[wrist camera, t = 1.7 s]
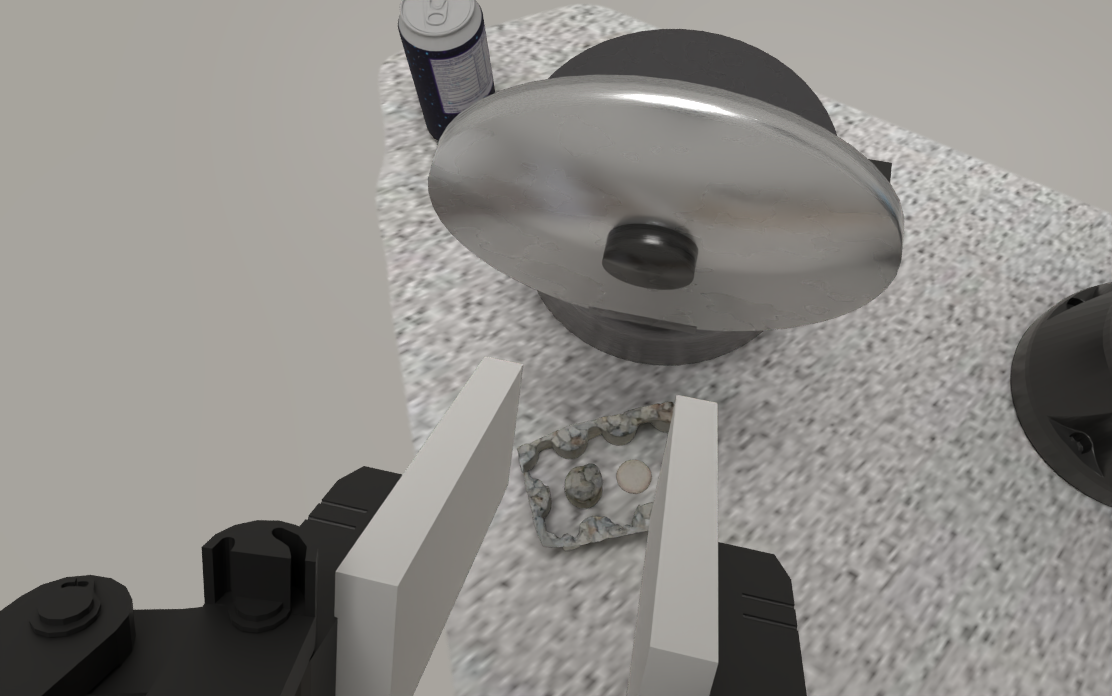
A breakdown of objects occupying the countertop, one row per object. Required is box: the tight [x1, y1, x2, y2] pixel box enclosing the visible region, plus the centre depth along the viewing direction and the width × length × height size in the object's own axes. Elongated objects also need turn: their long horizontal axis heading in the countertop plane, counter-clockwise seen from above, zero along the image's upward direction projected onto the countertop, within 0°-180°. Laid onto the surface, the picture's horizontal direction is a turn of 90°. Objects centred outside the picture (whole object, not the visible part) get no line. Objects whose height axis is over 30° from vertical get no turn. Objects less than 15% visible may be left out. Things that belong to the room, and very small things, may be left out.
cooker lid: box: [428, 75, 904, 334], centre depth 35 cm, size 20×20×2 cm
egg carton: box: [517, 402, 674, 551], centre depth 50 cm, size 11×8×4 cm
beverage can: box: [398, 0, 495, 141], centre depth 57 cm, size 6×6×12 cm
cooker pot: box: [537, 29, 892, 365], centre depth 54 cm, size 26×20×10 cm
